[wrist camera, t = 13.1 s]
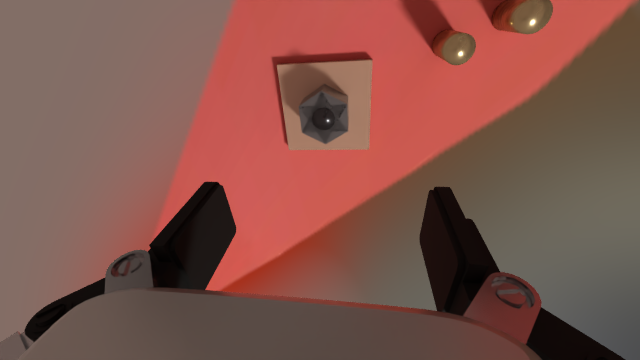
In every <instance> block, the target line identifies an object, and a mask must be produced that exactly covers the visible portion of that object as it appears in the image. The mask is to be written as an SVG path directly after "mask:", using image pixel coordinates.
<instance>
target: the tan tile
mask: <svg viewBox="0 0 640 360" xmlns="http://www.w3.org/2000/svg"><path fill="white" fill-rule="evenodd" d="M277 70H278V77H279V84H280V91H281V98H282V105H283V112H284V119H285V126H286V133H287V140H288V147H289V150H350V149H369V135H370V109H371V82H372V59H360V60H341V61H323V62H304V63H285V64H278V65H277ZM323 84H326V85H328V86H330V87H332V88H334V89H336V90H338V91H340V92H341V93H343V94H345V95H347V96H348V107H349V126H348V132H346V133H344V134H343V135H341V136H339V137H337V138H336V139H334V140H332V141H331V142H329V143H327V144H324V143H322V142H320V141H318V140H316V139H314V138H312V137H310V136H307V135H305V134H303V133H302V130H301V122H300V114H299V105H300V103H301V102H302V100H303V98H305V97H306V96H308V95H309V94H311V93H312V92H313V91H315V90H316V89H318V88H319V87H321V86H322V85H323Z"/></svg>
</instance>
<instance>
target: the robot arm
mask: <svg viewBox="0 0 640 360" xmlns="http://www.w3.org/2000/svg"><path fill="white" fill-rule="evenodd" d="M235 233H236V225H235V222H234V219H233V216H232V213H231V210H230V207H229V203H228V200H227V197H226V194H225V191H224V188H223V186H222V185H220V184H219V183H218V182H204V183H203V184H202V186H201V187H200V188H199V189H198V190H197V191H196V192H195V194H194V195H193V196H192V197H191V198H190V199H189V200H188V202H187V203H186V204H185V205H184V206H183V207H182V208H181V209H180V211H179V212H178V213H177V214H176V215H175V216H174V217H173V219H172V220H171V221H170V222H169V223H168V224H167V225H166V227H165V228H164V229H163V230H162V231H161V232H160V233H159V235H158V236H157V237H156V238H155V239H154V240H153V241H152V243H151V244H150V245H149V246H150V247H151V249H150V250H149V251H148V252H147V251H145V250H134V251H131V252H128V253H126V254H124V255H122V256H120V257H119V258H117V259H116V260H115V261H114V262H113V263H112V264H111V265H110V266H109V267H108V269H107V272H106V277H105V278H103V279H101V280H99V281H97V282H95V283H93V284H91V285H88V286H86V287H84V288H82V289H80V290H78V291H75V292H73V293H71V294H69V295H67V296H65V297H63V298H61V299H58V300H56V301H54V302H52V303H51V304H49V305H47V306H45V307H44V308H43V309H41V310H40V311H39V312H37V313H36V314H35V315H34V316H33V317H32V319H31V320H30V321H29V322H28V324H27V326H26V328H25V332H23V333H21V334H20V333H19V332H16V333H14V334H13V335H11V336H10V337H8V338H7V339H5V340H3V341H2V342H0V360H625V359H623V358H622V357H621V356H619V355H617V354H616V353H614V352H613V351H611V350H609V349H608V348H606V347H605V346H603V345H601V344H600V343H598V342H596V341H595V340H593V339H592V338H590V337H588V336H587V335H585V334H583V333H582V332H580V331H579V330H577V329H575V328H574V327H572V326H570V325H569V324H567V323H566V322H564V321H562V320H561V319H559V318H558V317H556V316H554V315H553V314H551V313H550V312H548V311H546V310H545V309H543V308H541V299H540V297H539V294H538V293H537V292H536V290H535V289H534V288H533V287H532V286H531V285H530V284H529V283H528V282H526V281H525V280H523V279H521V278H520V277H517V276H515V275H512V274H509V273H504V272H500V271H499V269H498V267H497V265H496V263H495V261H494V259H493V257H492V256H491V254H490V252H489V250H488V248H487V246H486V244H485V242H484V240H483V239H482V237H481V235H480V233H479V231H478V229H477V227H476V225H475V223H474V222H473V220H471V219H466V218H465V216H464V214H463V212H462V210H461V208H460V206H459V204H458V202H457V200H456V198H455V196H454V194H453V192H452V190H451V189H450V187H435V188H434V190H430V191H429V194H428V198H427V203H426V208H425V213H424V218H423V222H422V228H421V232H420V245H421V249H422V253H423V257H424V261H425V265H426V268H427V273H428V277H429V280H430V284H431V288H432V292H433V296H434V300H435V304H436V308H437V311H432V310H426V309H417V308H408V307H398V306H389V305H378V304H367V303H356V302H344V301H333V300H321V299H310V298H297V297H285V296H273V295H260V294H248V293H236V292H223V291H210V290H205V289H206V287H207V285H208V283H209V281H210V280H211V278H212V276H213V274H214V272H215V270H216V269H217V267H218V265H219V263H220V261H221V259H222V258H223V256H224V254H225V252H226V250H227V248H228V246H229V245H230V243H231V241H232V239H233V237H234V235H235Z"/></svg>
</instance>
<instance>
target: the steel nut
mask: <svg viewBox="0 0 640 360" xmlns="http://www.w3.org/2000/svg"><path fill="white" fill-rule="evenodd" d="M299 114H300V122H301V130H302V133H303V134H305V135H307V136H310V137H312V138H314V139H316V140H318V141H320V142H322V143H324V144H327V143H329V142H331V141H332V140H334V139H336V138H337V137H339V136H341V135H343V134H344V133H346V132H348V126H349V107H348V96H347V95H345V94H343V93H341V92H340V91H338V90H336V89H334V88H332V87H330V86H328V85H326V84H323V85H322V86H321V87H319V88H318V89H316V90H315V91H313V92H312V93H311V94H309V95H308V96H306V97H305V98H303V100H302V102H301V103H300V105H299Z"/></svg>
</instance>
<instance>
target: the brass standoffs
mask: <svg viewBox="0 0 640 360" xmlns="http://www.w3.org/2000/svg"><path fill="white" fill-rule="evenodd" d="M552 12H553V6H552V3H551V1H550V0H506V1H504V2H503V3H501V4H500V5H499V6H498V7H497V8H496V10H495V11H494V13H493V16H492V24H493V26H494V27H495V28H496V29H497V30H501V31H508V32H515V33H522V34H532V33H535V32H537V31H539V30H541V29H542V28H543V27H544V26H545V25H546V24H547V23H548V21H549V20H550V18H551V16H552ZM475 48H476V43H475V40H474V38H473V37H472V36H471V35H469V34H466V33H462V32H457V31H453V30H444V31H442V32H440V33H439V34H438V35H437V36H436V37H435V38H434V40H433V43H432V50H433V52H434V54H435V55H436V56H438V57H440V58H441V59H443V60H445V61H446V62H448V63H450V64H452V65H461V64H463V63H465V62H467V61H468V60H469V59H470V58H471V57H472V55H473V54H474V51H475Z"/></svg>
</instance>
